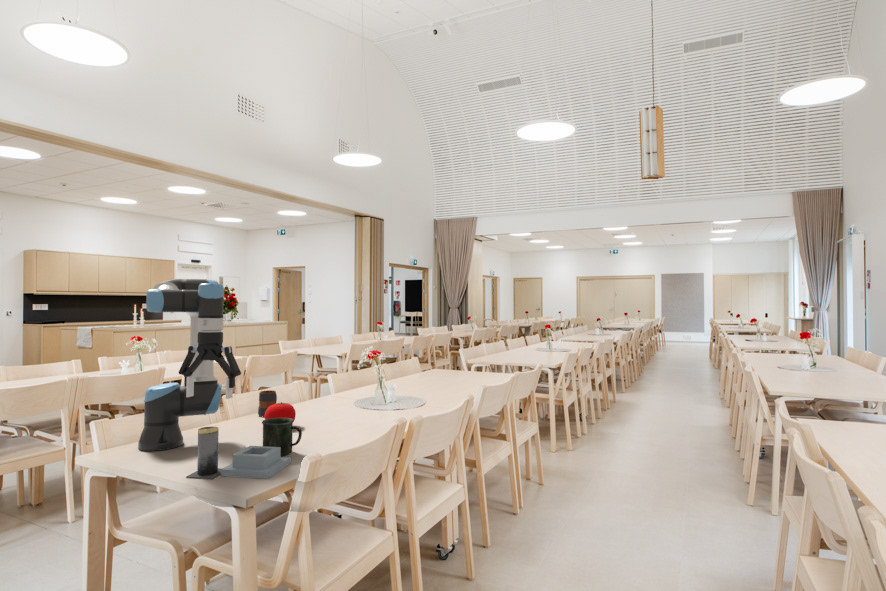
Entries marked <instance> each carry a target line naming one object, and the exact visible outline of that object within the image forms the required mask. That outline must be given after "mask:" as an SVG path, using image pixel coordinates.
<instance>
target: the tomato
mask: <svg viewBox="0 0 886 591" xmlns="http://www.w3.org/2000/svg"><path fill="white" fill-rule="evenodd" d="M263 418H264V420H266V419H270V418H291V419H293V420H294V421H295V420H296V409H295V408H294V405H292V404H290V403H286V402H282V401H281V402H278V403H277V402H276V404H273V405H271V406H269V407H268V409H267V410H266V412H265V415H264V417H263Z"/></svg>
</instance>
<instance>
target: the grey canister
mask: <svg viewBox="0 0 886 591" xmlns="http://www.w3.org/2000/svg"><path fill="white" fill-rule="evenodd" d="M196 465H197V467H196V468H197V469H196V471H197V474H198V475H200V476H208V475H213V474H216V473H217V472H218V468H219V427H218V426H205V427H200V428H198V429H197V464H196Z"/></svg>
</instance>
